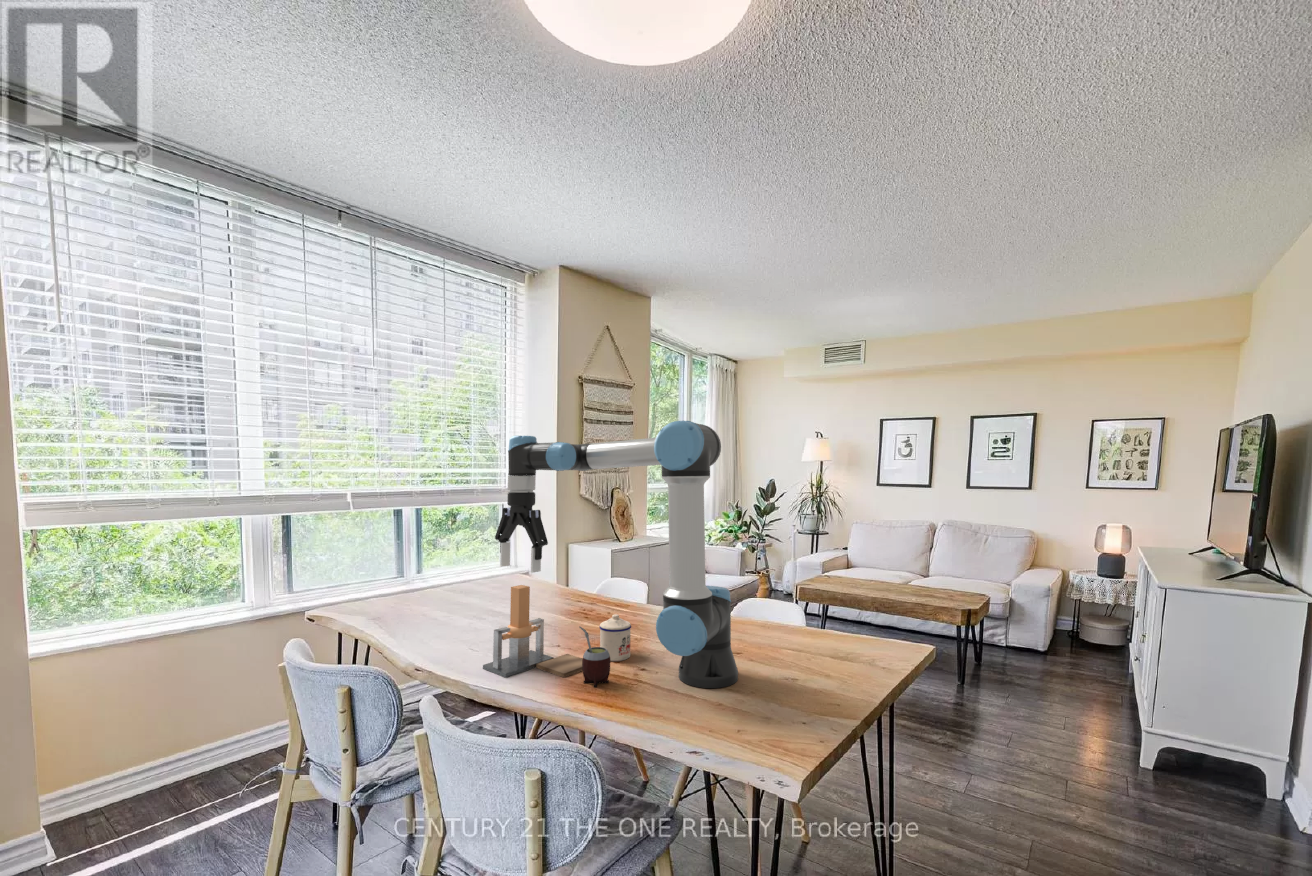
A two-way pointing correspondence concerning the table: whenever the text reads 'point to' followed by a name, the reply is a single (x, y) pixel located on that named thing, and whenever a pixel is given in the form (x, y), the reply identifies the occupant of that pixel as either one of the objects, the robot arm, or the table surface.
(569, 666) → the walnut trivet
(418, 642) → the table surface
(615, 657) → the teacup with lid
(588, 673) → the mate gourd
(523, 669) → the grey double hook stand
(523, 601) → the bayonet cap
